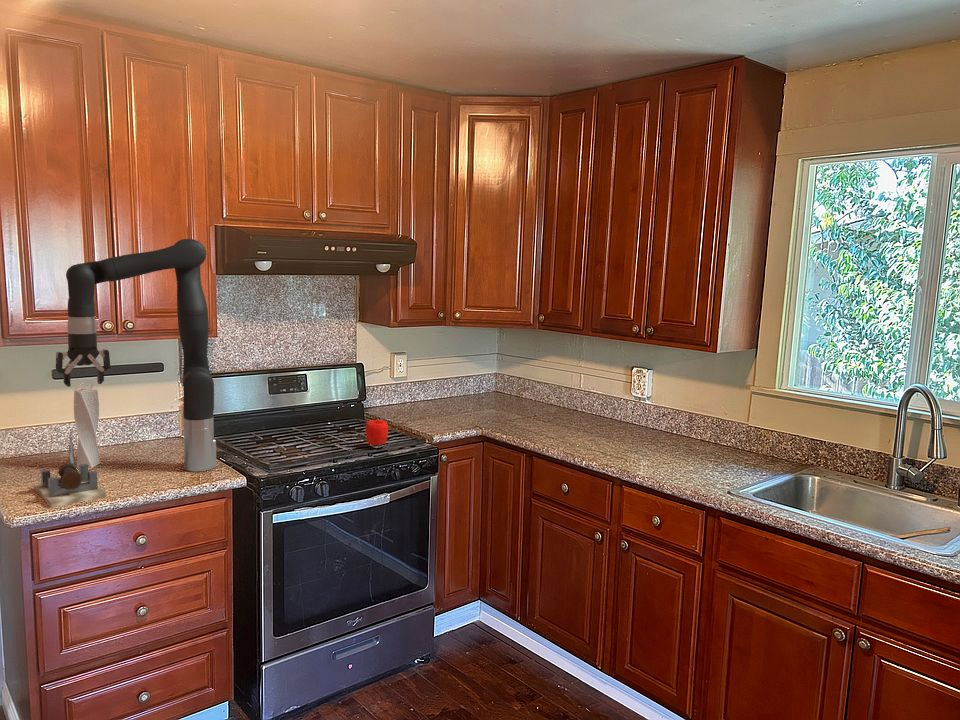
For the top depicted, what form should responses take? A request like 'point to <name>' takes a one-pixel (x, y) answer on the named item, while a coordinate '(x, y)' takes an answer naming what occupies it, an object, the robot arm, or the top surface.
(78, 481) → the bolt
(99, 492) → the collar board
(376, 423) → the apple
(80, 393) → the skyscraper
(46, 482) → the grey notched cradle
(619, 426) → the top surface
